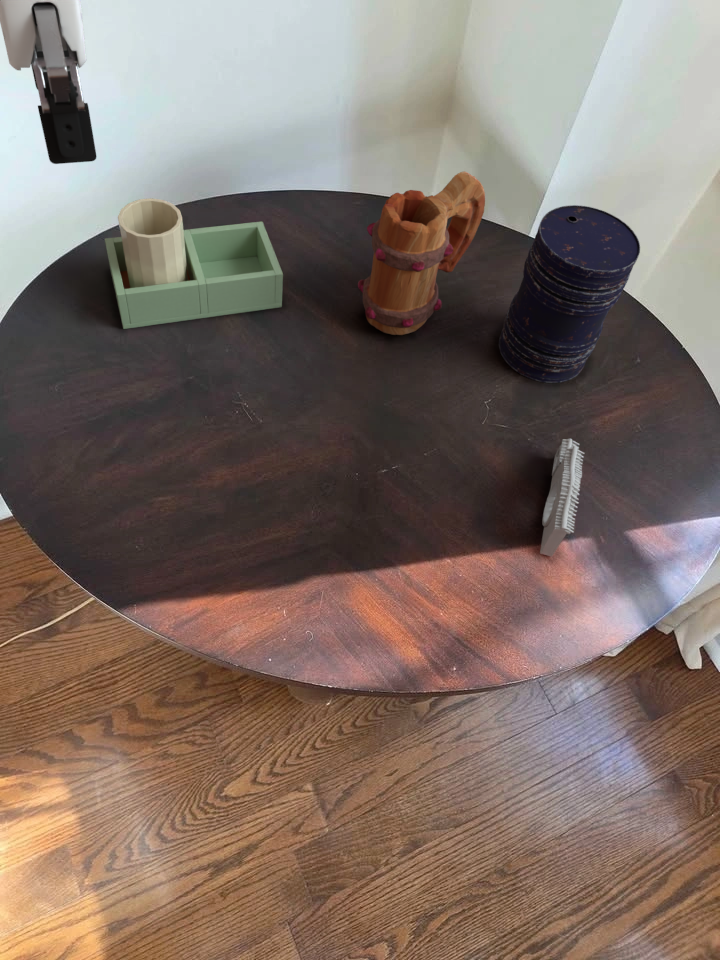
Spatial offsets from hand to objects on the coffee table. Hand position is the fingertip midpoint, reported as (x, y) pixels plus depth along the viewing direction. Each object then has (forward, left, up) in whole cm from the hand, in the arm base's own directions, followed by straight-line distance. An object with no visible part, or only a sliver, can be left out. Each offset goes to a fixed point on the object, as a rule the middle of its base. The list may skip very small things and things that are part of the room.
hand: (65, 123), depth 58 cm
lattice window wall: (+36, -28, -25) cm, 52 cm away
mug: (+32, 0, -25) cm, 41 cm away
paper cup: (+6, +8, -24) cm, 26 cm away
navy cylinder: (+44, -9, -25) cm, 51 cm away
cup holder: (+10, +8, -25) cm, 27 cm away
